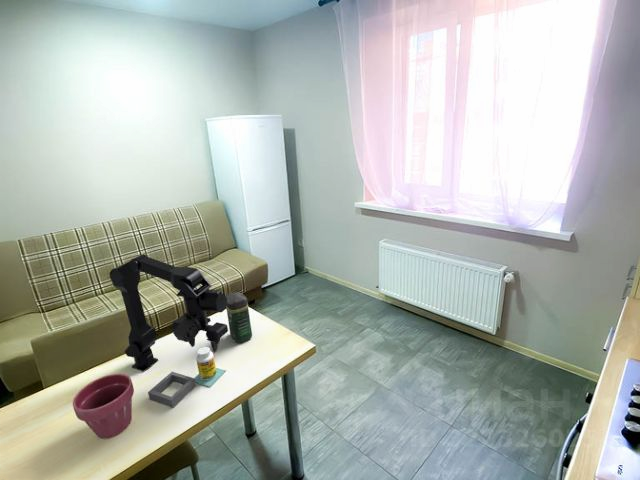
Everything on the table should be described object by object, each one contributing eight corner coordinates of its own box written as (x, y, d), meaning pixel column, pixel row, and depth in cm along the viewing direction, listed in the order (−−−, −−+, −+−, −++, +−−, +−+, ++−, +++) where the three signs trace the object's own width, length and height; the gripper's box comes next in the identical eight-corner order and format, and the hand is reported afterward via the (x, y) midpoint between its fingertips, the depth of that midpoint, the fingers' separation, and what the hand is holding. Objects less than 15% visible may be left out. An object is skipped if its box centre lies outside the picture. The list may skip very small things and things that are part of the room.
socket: (149, 399, 107) (147, 392, 106) (173, 378, 115) (172, 371, 114) (173, 408, 103) (171, 400, 102) (196, 385, 111) (194, 378, 110)
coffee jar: (255, 338, 134) (249, 297, 128) (236, 346, 130) (229, 304, 124) (246, 327, 142) (240, 288, 136) (228, 334, 138) (221, 294, 132)
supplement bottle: (202, 383, 111) (197, 358, 108) (198, 374, 116) (192, 349, 113) (219, 376, 114) (214, 351, 111) (214, 367, 119) (209, 343, 115)
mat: (191, 381, 113) (191, 380, 113) (207, 366, 120) (207, 365, 120) (210, 387, 110) (210, 386, 110) (225, 371, 117) (225, 370, 117)
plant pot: (118, 401, 107) (108, 368, 103) (152, 412, 102) (142, 378, 98) (73, 439, 94) (59, 403, 90) (109, 454, 89) (95, 417, 85)
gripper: (153, 316, 103) (164, 358, 108) (200, 327, 96) (209, 371, 101) (180, 298, 113) (189, 338, 118) (225, 307, 105) (232, 349, 110)
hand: (203, 349), depth 111 cm, fingers open, 9 cm apart
